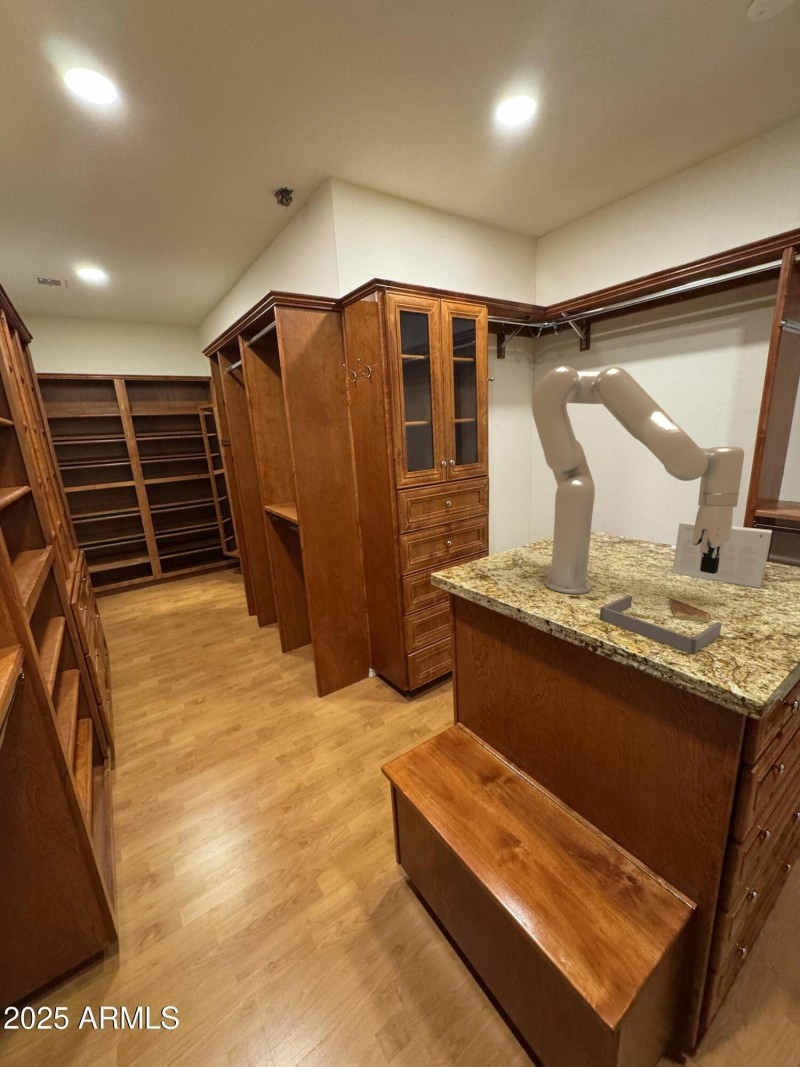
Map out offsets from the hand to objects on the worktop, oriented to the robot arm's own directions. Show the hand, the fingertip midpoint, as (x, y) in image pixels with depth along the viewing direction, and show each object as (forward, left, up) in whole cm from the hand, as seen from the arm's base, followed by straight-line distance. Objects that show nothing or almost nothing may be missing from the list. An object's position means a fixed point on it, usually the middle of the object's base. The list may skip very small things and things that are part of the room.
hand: (708, 571), depth 102 cm
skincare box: (-6, +24, -9) cm, 26 cm away
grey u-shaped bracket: (-1, -22, -9) cm, 24 cm away
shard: (-1, -10, -9) cm, 14 cm away
